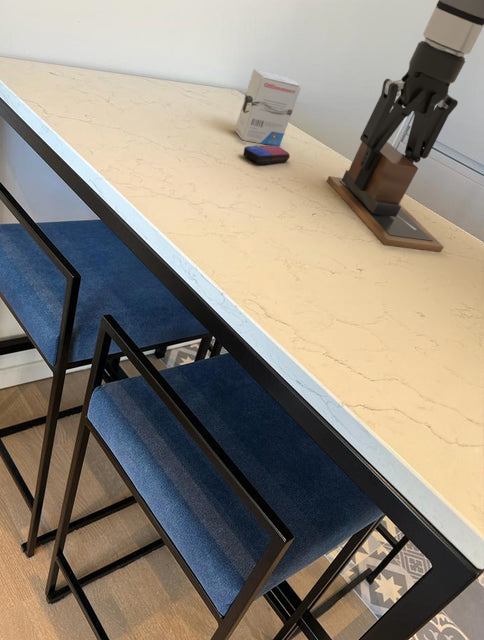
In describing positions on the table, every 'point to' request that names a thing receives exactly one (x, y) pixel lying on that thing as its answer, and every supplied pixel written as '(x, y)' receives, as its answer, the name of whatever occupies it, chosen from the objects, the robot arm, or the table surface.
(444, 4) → the robot arm
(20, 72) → the table surface
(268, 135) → the ink box
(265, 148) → the eraser
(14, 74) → the table surface
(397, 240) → the board
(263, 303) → the table surface
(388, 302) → the table surface
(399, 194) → the duster
